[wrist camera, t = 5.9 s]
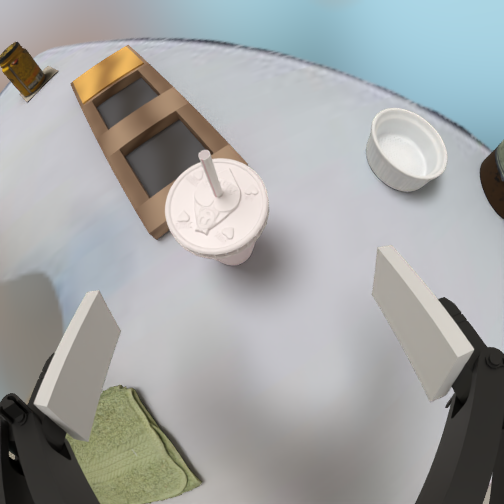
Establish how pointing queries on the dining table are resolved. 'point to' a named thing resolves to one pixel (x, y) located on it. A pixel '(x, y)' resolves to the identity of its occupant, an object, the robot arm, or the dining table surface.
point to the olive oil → (494, 178)
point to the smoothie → (218, 209)
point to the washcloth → (130, 454)
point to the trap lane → (145, 131)
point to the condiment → (24, 71)
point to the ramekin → (405, 150)
